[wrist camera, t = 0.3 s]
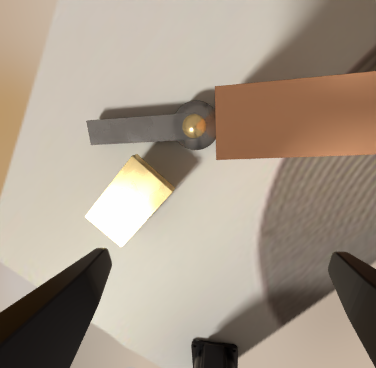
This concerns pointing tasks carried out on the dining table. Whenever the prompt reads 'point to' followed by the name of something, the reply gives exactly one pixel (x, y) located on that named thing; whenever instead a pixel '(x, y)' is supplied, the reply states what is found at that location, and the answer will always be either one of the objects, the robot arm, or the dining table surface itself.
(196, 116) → the pintle
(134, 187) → the keeper
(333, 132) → the peach block with bar
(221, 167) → the dining table surface
